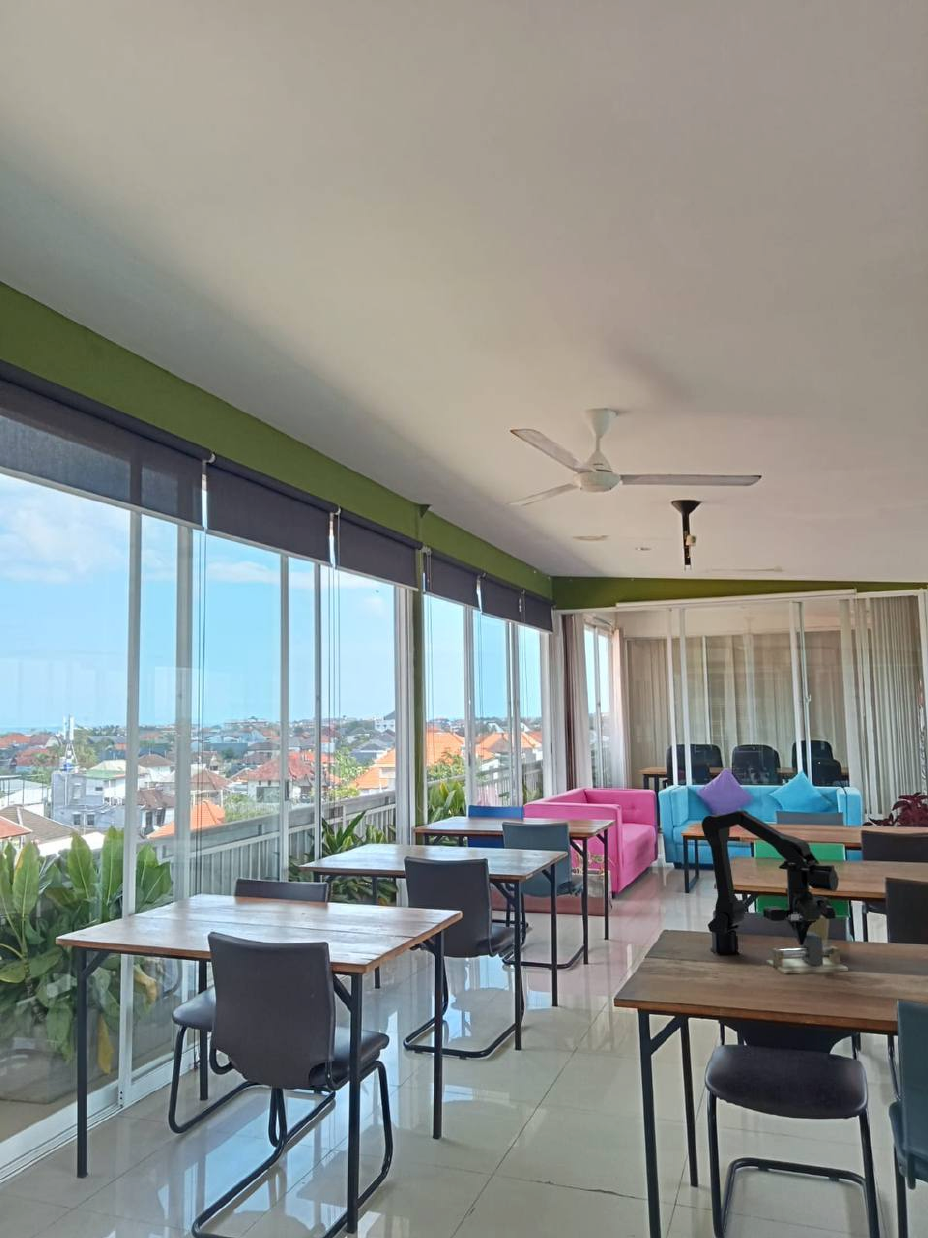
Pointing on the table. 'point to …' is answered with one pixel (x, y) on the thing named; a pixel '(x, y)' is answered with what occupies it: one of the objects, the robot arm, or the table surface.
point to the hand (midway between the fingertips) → (800, 944)
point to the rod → (803, 952)
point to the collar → (813, 949)
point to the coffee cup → (821, 923)
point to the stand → (802, 966)
